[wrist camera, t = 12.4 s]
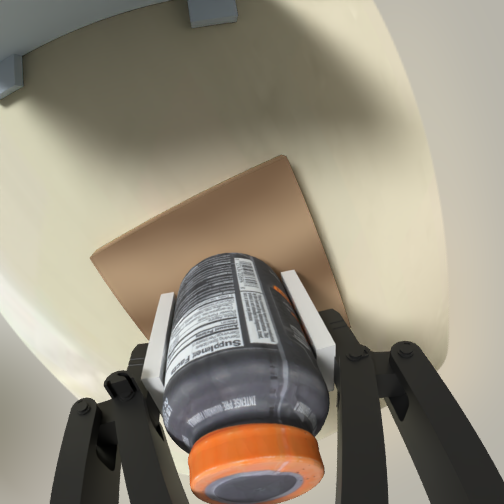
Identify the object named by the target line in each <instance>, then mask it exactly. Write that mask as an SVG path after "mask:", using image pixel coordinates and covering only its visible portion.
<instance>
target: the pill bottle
mask: <svg viewBox="0 0 504 504" xmlns="http://www.w3.org/2000/svg"><path fill="white" fill-rule="evenodd" d="M329 404H330V402H329V393H328V389H327V385H326V383H325V381H324V378H323V376H322V373H321V371H320V368H319V366H318V364H317V361H316V359H315V357H314V355H313V352H312V350H311V348H310V346H309V344H308V341H307V339H306V337H305V334H304V332H303V329H302V327H301V325H300V323H299V321H298V318H297V316H296V313H295V311H294V309H293V307H292V305H291V302H290V300H289V297H288V296H287V294H286V292H285V290H284V287H283V285H282V283H281V281H280V279H279V277H278V276H277V275H276V273H275V272H274V271H273V270H272V269H271V267H270V266H269V265H267V264H266V263H264V262H263V261H262V260H260V259H258V258H256V257H253V256H250V255H248V254H243V253H222V254H217V255H214V256H210V257H208V258H206V259H204V260H202V261H201V262H199V263H198V264H196V265H195V266H194V267H192V268H191V269H190V270H189V272H188V273H187V274H186V275H185V277H184V278H183V280H182V282H181V285H180V288H179V291H178V296H177V301H176V306H175V312H174V318H173V325H172V331H171V337H170V343H169V350H168V356H167V366H166V377H165V387H164V396H163V405H162V416H163V421H164V425H165V428H166V430H167V432H168V434H169V435H170V437H171V438H172V440H173V441H174V442H175V443H176V444H177V445H178V446H179V447H180V448H181V449H183V450H184V451H185V452H187V453H189V457H188V465H189V469H190V486H191V490H192V492H193V494H194V495H195V496H196V497H198V498H199V499H201V500H202V501H204V502H207V503H209V504H277V503H281V502H284V501H287V500H290V499H293V498H296V497H298V496H300V495H302V494H304V493H306V492H308V491H309V490H311V489H312V488H313V487H315V486H316V485H317V484H318V483H319V482H320V481H321V479H322V478H323V476H324V472H325V471H324V465H323V462H322V459H321V456H320V453H319V447H318V442H317V440H316V438H315V436H316V435H317V434H318V432H319V431H320V430H321V428H322V426H323V425H324V422H325V420H326V418H327V415H328V412H329Z"/></svg>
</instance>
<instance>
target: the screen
mask: <svg viewBox="0 0 504 504" xmlns="http://www.w3.org/2000/svg"><path fill="white" fill-rule="evenodd" d="M165 1H170V0H0V99H2V98H4V97H6V96H7V95H9V94H11V93H12V92H14V91H16V90H18V89H20V88H21V87H23V86H24V85H23V67H22V56H23V55H25V54H27V53H29V52H31V51H32V50H34V49H36V48H38V47H40V46H42V45H44V44H46V43H48V42H50V41H52V40H54V39H56V38H59V37H61V36H63V35H65V34H67V33H70V32H72V31H74V30H77V29H79V28H82V27H84V26H87V25H89V24H92V23H95V22H97V21H100V20H103V19H106V18H109V17H111V16H114V15H118V14H121V13H124V12H127V11H131V10H134V9H137V8H141V7H145V6H149V5H153V4H157V3H161V2H165ZM187 1H188V8H189V15H190V22H191V27H192V28H196V27H202V26H208V25H215V24H223V23H231V22H237V18H238V13H237V7H236V2H235V0H187Z"/></svg>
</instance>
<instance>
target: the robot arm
mask: <svg viewBox="0 0 504 504" xmlns="http://www.w3.org/2000/svg"><path fill="white" fill-rule="evenodd" d="M281 279H282V285H283V287H284V290H285V292H286V294H287V296H288V297H289V300H290V302H291V305H292V307H293V309H294V311H295V313H296V316H297V318H298V321H299V323H300V325H301V327H302V329H303V332H304V334H305V337H306V339H307V341H308V344H309V346H310V348H311V350H312V352H313V355H314V357H315V359H316V361H317V364H318V366H319V368H320V371H321V373H322V376H323V378H324V381H325V383H326V385H327V389H328V392H330V391H333V390H334V383H335V385H336V387H337V389H338V392H337V406H336V407H337V412H338V445H337V446H338V447H337V483H336V502H335V504H388V483H387V467H386V455H385V444H384V435H383V426H382V418H381V409H380V402H379V398H383V397H384V400H385V402H386V404H387V406H388V408H389V410H390V412H391V414H392V416H393V418H394V421H395V423H396V425H397V427H398V429H399V431H400V433H401V436H402V437H403V440H404V442H405V444H406V447H407V449H408V451H409V453H410V455H411V458H412V460H413V462H414V465H415V467H416V469H417V472H418V474H419V476H420V479H421V481H422V483H423V486H424V488H425V491H426V493H427V495H428V498H429V500H430V503H431V504H504V482H503V479H502V477H501V476H500V474H499V472H498V470H497V468H496V467H495V465H494V463H493V461H492V459H491V458H490V456H489V454H488V452H487V450H486V449H485V447H484V445H483V444H482V442H481V440H480V439H479V437H478V435H477V433H476V432H475V430H474V429H473V427H472V425H471V423H470V422H469V420H468V419H467V417H466V415H465V414H464V412H463V411H462V409H461V408H460V406H459V404H458V403H457V401H456V400H455V399H454V397H453V396H452V394H451V392H450V391H449V389H448V388H447V386H446V385H445V383H444V382H443V380H442V379H441V377H440V376H439V374H438V373H437V371H436V370H435V369H434V367H433V366H432V364H431V363H430V361H429V360H428V359H427V357H426V356H425V354H424V353H423V352H422V350H421V349H420V347H419V346H418V345H416V344H415V343H412V342H409V341H402V342H398V343H396V344H394V345H393V346H392V348H391V351H390V352H372V351H370V349H368V348H367V347H366V346H363V345H360V344H359V342H358V341H357V339H356V338H355V336H354V334H353V333H352V331H351V330H350V328H349V327H348V326H347V324H346V322H345V321H344V319H343V317H342V316H341V314H340V313H339V312H337V311H335V310H334V309H327V310H323V311H319V312H318V311H317V310H316V308H315V306H314V304H313V302H312V301H311V299H310V297H309V295H308V293H307V292H306V290H305V288H304V286H303V285H302V283H301V281H300V279H299V277H298V276H297V274H296V272H295V270H289V271H284V272H281ZM176 301H177V300H176V297H175V294H174V292H171V293H165V294H161V296H160V300H159V304H158V308H157V312H156V316H155V320H154V324H153V328H152V332H151V336H150V340H149V343H145V344H138V345H137V346H136V347H135V348H134V350H133V351H132V354H131V357H130V361H129V364H128V365H129V366H128V368H127V371H124V370H122V371H117V372H114V373H112V374H111V375H109V376H108V377H107V379H106V380H105V382H104V387H105V389H106V390H107V392H108V393H109V395H110V396H111V398H112V399H110V400H108V401H105V402H102V403H98V404H97V403H96V402H95V400H93V399H91V398H83V399H80V400H78V401H77V402H76V403H75V404H74V405H73V406H72V408H71V412H70V415H69V419H68V422H67V426H66V430H65V433H64V437H63V441H62V445H61V450H60V453H59V458H58V462H57V467H56V472H55V477H54V482H53V487H52V493H51V500H50V504H118V503H119V484H120V469H121V462H122V467H123V473H124V477H125V482H126V487H127V491H128V495H129V499H130V503H131V504H189V502H188V499H187V497H186V494H185V492H184V489H183V486H182V484H181V481H180V478H179V476H178V473H177V470H176V467H175V464H174V461H173V458H172V455H171V452H170V449H169V446H168V443H167V440H166V437H165V434H164V430H163V427H162V425H161V424H160V422H159V416H160V414H161V416H162V405H163V396H164V387H165V377H166V366H167V356H168V350H169V343H170V337H171V331H172V325H173V318H174V312H175V306H176ZM162 417H163V416H162Z"/></svg>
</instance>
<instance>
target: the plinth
mask: <svg viewBox="0 0 504 504" xmlns="http://www.w3.org/2000/svg"><path fill="white" fill-rule="evenodd" d="M222 253H243V254H248V255H250V256H253V257H256V258H258V259H260V260H262V261H263V262H264V263H266V264H267V265H269V266H270V267H271V269H272V270H273V271H274V272H275V273H276V275H277V276H278V277H279V279H280V281H281V283H282V279H281V272H284V271H289V270H295V272H296V274H297V276H298V277H299V279H300V281H301V283H302V285H303V286H304V288H305V290H306V292H307V293H308V295H309V297H310V299H311V301H312V302H313V304H314V306H315V308H316V310H317V311H318V312H319V311H323V310H327V309H334V310H335V311H337V312H339V313H340V314H341V316H342V317H343V319H344V321H345V322H346V324H347V326H348V327H349V328H351V326H350V323H349V320H348V317H347V314H346V311H345V308H344V305H343V302H342V299H341V296H340V293H339V290H338V287H337V285H336V282H335V279H334V276H333V273H332V270H331V268H330V265H329V262H328V259H327V257H326V254H325V251H324V248H323V246H322V243H321V240H320V238H319V235H318V233H317V230H316V227H315V225H314V222H313V220H312V217H311V215H310V212H309V209H308V207H307V204H306V202H305V199H304V197H303V195H302V192H301V190H300V187H299V185H298V182H297V180H296V178H295V175H294V173H293V171H292V168H291V166H290V163H289V161H288V159H287V157H286V156H283V155H280V156H277V157H275V158H273V159H271V160H268V161H266V162H264V163H262V164H260V165H257V166H255V167H253V168H251V169H249V170H247V171H244V172H242V173H240V174H238V175H236V176H234V177H232V178H230V179H228V180H226V181H223V182H221V183H219V184H217V185H215V186H213V187H211V188H209V189H207V190H205V191H203V192H201V193H199V194H197V195H195V196H193V197H191V198H189V199H187V200H186V201H184V202H182V203H180V204H178V205H176V206H174V207H172V208H170V209H168V210H166V211H165V212H163V213H161V214H159V215H157V216H155V217H153V218H152V219H150V220H148V221H146V222H144V223H143V224H141V225H139V226H137V227H135V228H134V229H132V230H130V231H128V232H127V233H125V234H123V235H121V236H120V237H118V238H116V239H114V240H113V241H111V242H109V243H108V244H106V245H104V246H102V247H101V248H99V249H97V250H96V251H95V252H94V254H93V255H92V256H91V257H90V259H91V261H92V262H93V264H94V266H95V267H96V269H97V270H98V272H99V273H100V275H101V276H102V278H103V279H104V281H105V282H106V284H107V285H108V286H109V288H110V289H111V291H112V292H113V294H114V295H115V296H116V298H117V299H118V301H119V302H120V303H121V305H122V306H123V308H124V309H125V310H126V312H127V313H128V314H129V316H130V317H131V318H132V320H133V321H134V322H135V324H136V325H137V326H138V328H139V329H140V330H141V331H142V333H143V334H144V335H145V337H146V338H147V339H148V340H150V336H151V332H152V328H153V324H154V320H155V316H156V312H157V308H158V304H159V300H160V296H161V294H165V293H171V292H174V294H175V297H176V300H177V296H178V291H179V288H180V285H181V282H182V280H183V278H184V277H185V275H186V274H187V273H188V272H189V270H190V269H191V268H192V267H194V266H195V265H196V264H198V263H199V262H201V261H202V260H204V259H206V258H208V257H210V256H214V255H217V254H222Z"/></svg>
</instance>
